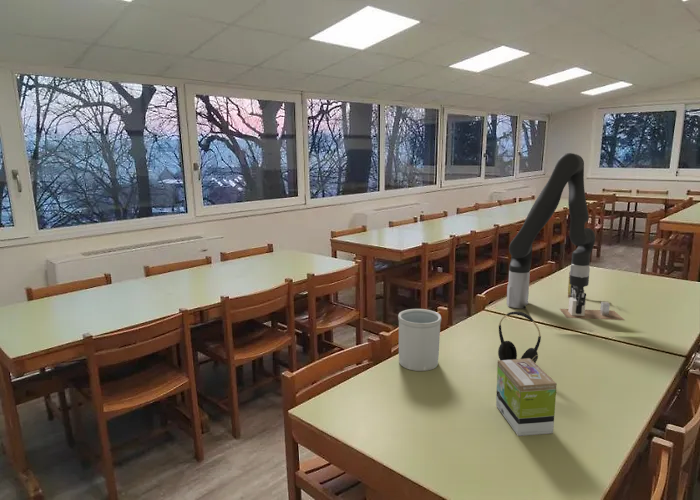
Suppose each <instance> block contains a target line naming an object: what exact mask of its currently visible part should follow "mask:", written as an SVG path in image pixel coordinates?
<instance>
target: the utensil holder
mask: <svg viewBox="0 0 700 500" xmlns="http://www.w3.org/2000/svg"><path fill="white" fill-rule="evenodd" d="M397 319H398V362H399V365H400V366H401V367H403V368H405V369H407V370H410V371H416V372H425V371H426V372H427V371H431V370H434V369H435V368H437V366H438V365H439V355H440V353H439V352H440V340H441V339H440V337H441V323H442V315H441V314H440V313H439V312H436V311H435V310H431V309H425V308H410V309H405V310H402V311H400V312H399V313H398V316H397Z"/></svg>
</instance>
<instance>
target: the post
mask: <svg viewBox="0 0 700 500" xmlns="http://www.w3.org/2000/svg"><path fill="white" fill-rule="evenodd" d="M599 310H600V314H601V315H602V316H609V310H610V303H609V301H600V309H599Z"/></svg>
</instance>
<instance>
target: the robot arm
mask: <svg viewBox="0 0 700 500" xmlns="http://www.w3.org/2000/svg"><path fill="white" fill-rule="evenodd" d="M584 181H585V161H584V158H583V156H581V155H579V154H577V153H572V152H568V153H565V154H564V153H563V154H562V155H561V156H560V157H559V158H558V160H557V162H556V163H555V165H554V169H553V170H552V172H551V175H550V177H549V179H548V180H547V182H546V184H545V185H544V187H543V188H542V190H541V191H540V193H539V195H538V196H537V197H536V200H535V201H534V203H533V204H532V206H531V208H530V211H529V212H528V213H527V216H526V218H525V220H524V222H523V224H522V226H521V228H520V230H519V231H518V232H517V234H516V235H515V236H514V238H513V239H512V240H511V241H510V243H509V246H508V252H509V254H510V255H511V256H510V263H509V266H508V283H507V286H506V305H507V307H508V308H514V309H526V308H527V307H526V306H527V305H529V292H530V291H529V289H530V273H531V266H532V260H533V258H532V257H533V243H534V241H535V238H536V237H537V235H538V234H539V233H540V232H541V231H542V229H543V228H544V227H545V226H546V224H547V223H549V220H550V219H551V218H552V216H553V215H554V214H555V212H556V209H558V206H559V204H560V201H561V198H562V194H563V191H564V189H565V187H566V185H568V199H567V200H568V211H569V212H568V213H569V217H570V223H569V232H568V234H569V240H570V242H571V243H572V244H573V245H574V246H577V248H576V249H575V250H573V251H572V254H571V261H570V262H571V264H570V268H569V272H570V280H569V279H568V284H569V283H570V284H571V297H573V298H575V300H576V314H581V313H582V306H584V305H585V306H586V303H585V301H586V298H587V293H586V292H585V289H584V288H585V287H588V286H589V282H590V263H591V254H592V251H593V248H594V246H595V244H596V243H595V242H596V234H595V232H594V230H593V229H592V228H590V227H589V228H588V227H586V223H587V222H588V221H589V218H590V217H589V211H588V205H587V199H586V192H585V182H584ZM580 301H581V303H580Z"/></svg>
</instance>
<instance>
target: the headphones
mask: <svg viewBox="0 0 700 500" xmlns="http://www.w3.org/2000/svg"><path fill="white" fill-rule="evenodd" d="M511 315H513V316H514V315H516V316H521V317H524V318H526V319H527V320H529V321H530V322H532V323H533V324H534V325H535V327H536V329H537V332H538V337H537V341H536V344H535V346H534V347H529V348H527V349H526V351H524V353H523V354H522V355H521V358H520V359H526V358H530V359H531V360H532V361H533V362H534V363H535V364H537V361H538V359H539V353H538V349H539V346H540V344H541V341H542V339H541V338H542V335H541V330H540V328H539V326H538V325H537V323H536V322H535V320H534V319H533V318H532V317H531V316H530V315H528V314H527V313H525V312H522V311H516V310H515V311H510V312H508V313H506V314H505V315H504V316H502V318H501V319H500V320H499V324H498V335H499V340H500V344H499V346H498V350H497V355H498V360H499V361H500V360H514V359H517V357H518V352H517V348H516V346H515V344H514V343H513V342H512V341H510V340H505V339H504V336H503V332H502V322H503V320H504V319H505V318H506V317H507V316H511Z"/></svg>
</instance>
